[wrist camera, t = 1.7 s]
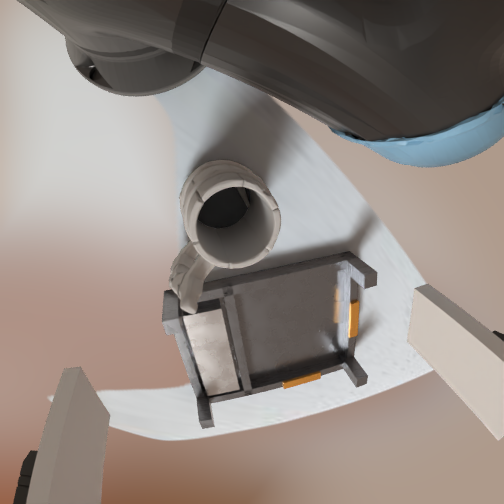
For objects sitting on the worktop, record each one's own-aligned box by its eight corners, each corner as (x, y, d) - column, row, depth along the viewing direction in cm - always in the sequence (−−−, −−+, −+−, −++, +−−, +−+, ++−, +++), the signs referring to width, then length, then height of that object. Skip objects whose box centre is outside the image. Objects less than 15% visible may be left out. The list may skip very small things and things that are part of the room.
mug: (274, 187, 31) (324, 218, 20) (206, 281, 33) (220, 352, 22) (211, 142, 28) (228, 146, 17) (143, 244, 30) (124, 304, 19)
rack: (164, 290, 32) (161, 321, 27) (350, 251, 35) (377, 272, 30) (198, 394, 39) (202, 429, 33) (347, 356, 42) (366, 383, 36)
